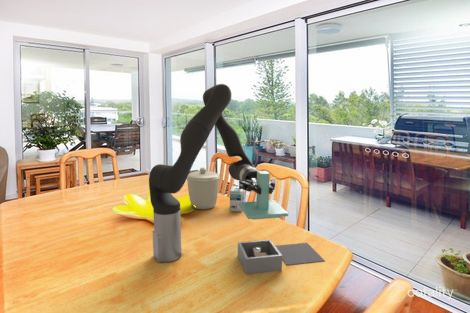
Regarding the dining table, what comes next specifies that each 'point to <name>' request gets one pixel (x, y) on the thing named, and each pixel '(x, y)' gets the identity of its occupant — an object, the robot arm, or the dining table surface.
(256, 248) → the metal spool
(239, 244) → the tub
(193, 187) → the canister
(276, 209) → the lid
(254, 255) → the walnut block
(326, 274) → the dining table surface
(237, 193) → the light bulb box
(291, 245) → the mat
